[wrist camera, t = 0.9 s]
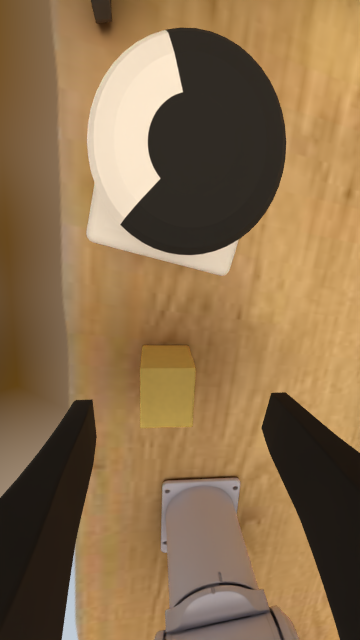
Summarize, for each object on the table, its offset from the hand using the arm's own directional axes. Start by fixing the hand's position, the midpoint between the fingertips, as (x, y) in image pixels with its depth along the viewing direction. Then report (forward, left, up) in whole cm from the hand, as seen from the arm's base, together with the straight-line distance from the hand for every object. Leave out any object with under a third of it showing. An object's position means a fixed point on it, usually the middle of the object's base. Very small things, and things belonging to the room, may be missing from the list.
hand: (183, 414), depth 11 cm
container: (+9, 0, -13) cm, 16 cm away
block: (-5, 0, -13) cm, 14 cm away
